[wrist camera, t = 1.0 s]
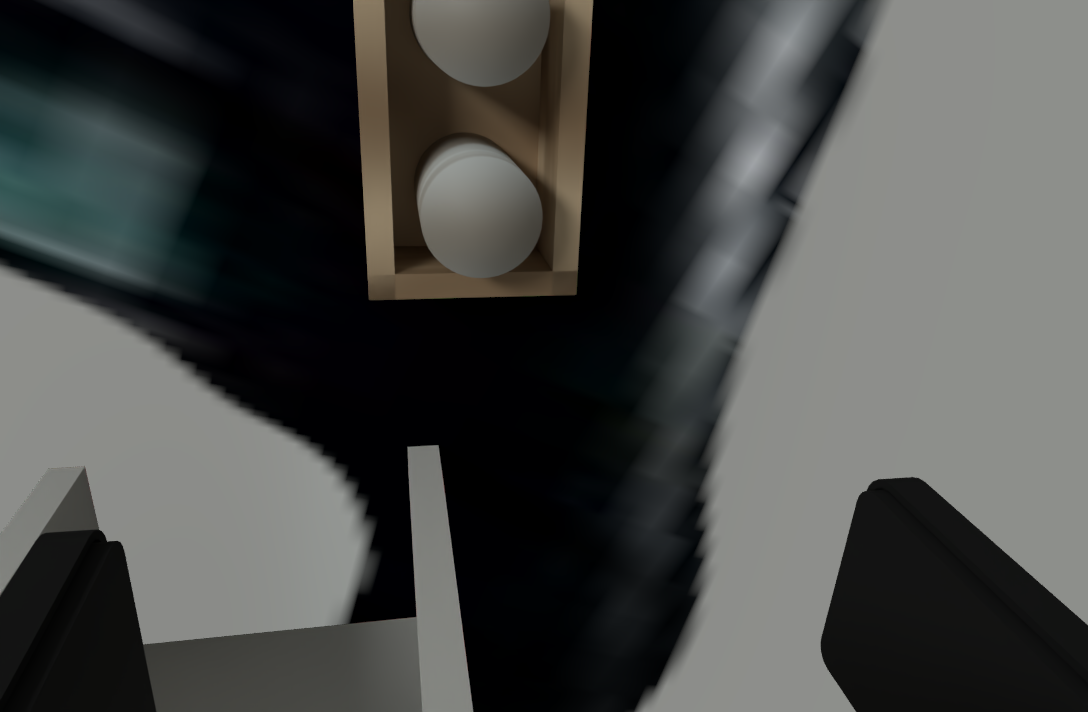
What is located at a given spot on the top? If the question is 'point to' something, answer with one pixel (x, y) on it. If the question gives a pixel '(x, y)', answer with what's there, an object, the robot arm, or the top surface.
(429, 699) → the tan rectangular box
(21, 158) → the top surface
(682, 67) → the top surface
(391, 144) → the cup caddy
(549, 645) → the top surface
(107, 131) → the top surface
